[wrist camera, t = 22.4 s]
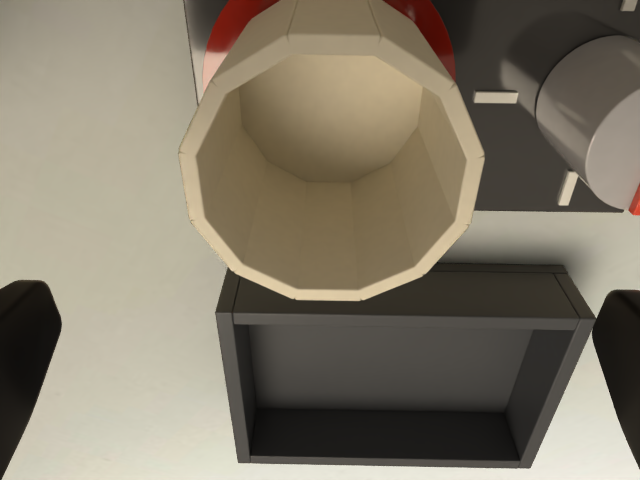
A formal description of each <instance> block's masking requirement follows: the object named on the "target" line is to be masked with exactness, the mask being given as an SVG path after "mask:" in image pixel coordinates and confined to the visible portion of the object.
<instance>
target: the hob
mask: <svg viewBox="0 0 640 480" xmlns="http://www.w3.org/2000/svg"><path fill="white" fill-rule="evenodd" d="M228 1H229V0H183V2H184V9H185V17H186V24H187V31H188V39H189V46H190V53H191V61H192V68H193V76H194V83H195V90H196V98H197V105H199V103H200V101H201V99H202V97H203V78H202V76H203V62H204V56H205V51H206V47H207V43H208V40H209V37H210V34H211V31H212V29H213V26H214V24H215V22H216V20H217V19H218V17H219V15H220V13H221V11H222V10H223V8H224V7H225V5H226V4H227V3H228ZM430 1H431V3H432V4H433V6H434V7H435V9H436V10H437V12H438V13H439V15H440V17H441V19H442V21H443V23H444V25H445V27H446V29H447V32H448V35H449V38H450V42H451V45H452V49H453V55H454V60H455V77H456V82H455V83H456V85H457V86H458V89H459V91H460V94H461V96H462V99H463V101H464V104H465V106H466V108H467V111H468V113H469V116H470V118H471V121H472V123H473V126H474V128H475V130H476V133H477V135H478V138H479V140H480V143H481V145H482V147H483V150H484V152H485V153H484V156H485V160H484V165H483V169H482V174H481V179H480V183H479V188H478V192H477V197H476V202H475V206H474V210H478V211H546V212H613V213H622V212H624V209H619V208H616V207H613V206H610V205H608V204H606V203H604V202H603V201H602V200H600V199H599V198H598V197H597V196H596V195H595V194H594V193H593V192H592V191H591V189H590V188H589V187H588V186H587V185H586V184H585V183H584V182H583V181H582V179H581V178H580V177H579V176H578V175H577V174H576V173H575V172H574V171H573V169H572V168H571V167H570V166H569V165H568V164H567V163H566V162H565V160H564V159H563V158H562V157H561V156H560V155H559V154H558V153H557V152H556V150H555V149H554V148H553V147H552V146H551V145H550V144H549V143H548V142H547V140H546V139H545V138H544V137H543V135H542V134H541V132H540V129H539V127H538V123H537V118H536V106H537V101H538V96H539V93H540V90H541V88H542V86H543V84H544V82H545V80H546V78H547V77H548V75H549V74H550V72H551V71H552V70H553V68H554V67H555V66H556V65H557V64H558V63H559V62H560V61H561V60H562V59H563V58H564V57H565V56H566V55H568V54H569V53H570V52H572V51H573V50H575V49H576V48H578V47H580V46H581V45H583V44H585V43H588V42H590V41H592V40H595V39H598V38H602V37H607V36H617V35H620V36H629V37H634V38H637V39H639V40H640V0H430Z"/></svg>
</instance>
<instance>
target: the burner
mask: <svg viewBox="0 0 640 480" xmlns="http://www.w3.org/2000/svg"><path fill="white" fill-rule="evenodd" d="M279 1H280V0H229V1H228V3H227V4H226V5H225V7H224V8H223V10H222V11H221V13H220V15H219V17H218V19H217V20H216V22H215V24H214V26H213V29H212V31H211V34H210V37H209V40H208V43H207V47H206V51H205V56H204V62H203V76H202V78H203V94H204V92H205V90H206V88H207V86H208V83H209V82H210V80H211V79H212V77H213V75H214V74H215V72H216V71H217V69H218V68H219V66H220V65H221V63H222V62H223V60H224V59H225V57H226V56H227V54H228V53H229V51H230V50H231V48H232V47H233V45H234V44H235V42H236V40H237V39H238V37H239V36H240V34H241V33H242V31H243V30H244V28H245V27H246V25H247V24H248V22H249V21H250V20H251V19H252V18H253V17H255V16H257V15H258V14H260V13H261V12H263V11H264V10H266V9H268V8H269V7H271V6H272V5H274V4H275V3H277V2H279ZM382 1H384V2H385V3H387V4H388V5H390V6H391V7H393V8H394V9H396V10H397V11H399V12H400V13H402V14H403V15H405V16H406V17H408V18H409V19H411V20H412V21H413V22H414V24H415V25H416V26H417V28H418V29H419V30H420V32H421V33H422V35H423V36H424V38H425V39H426V41H427V42H428V44H429V45H430V47H431V48H432V50H433V51H434V52H435V54H436V55H437V57H438V58H439V60H440V61H441V63H442V64H443V66H444V67H445V69H446V70H447V71H448V73H449V74H450V76H451V77H452V79H453V80H454V82H456V77H455V60H454V55H453V49H452V45H451V42H450V38H449V35H448V32H447V29H446V27H445V25H444V23H443V21H442V19H441V17H440V15H439V13H438V12H437V10H436V9H435V7H434V6H433V4H432V3H431V1H430V0H382Z"/></svg>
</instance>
